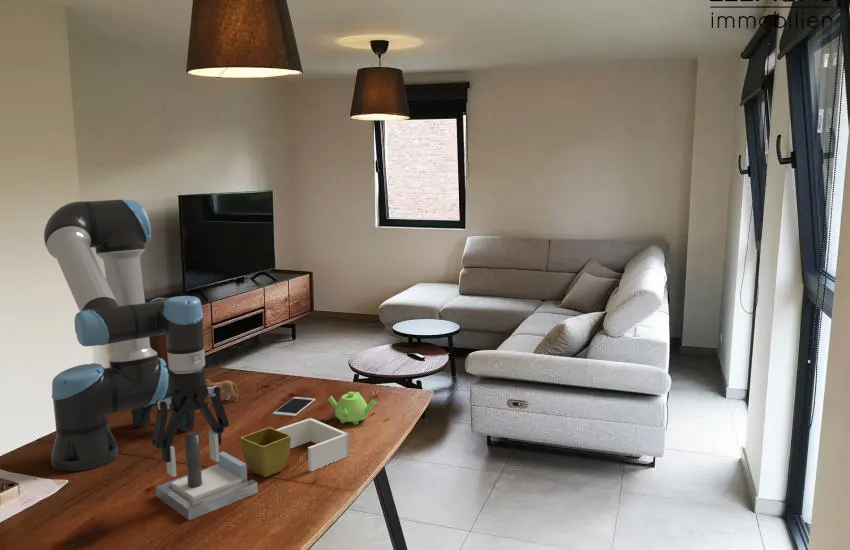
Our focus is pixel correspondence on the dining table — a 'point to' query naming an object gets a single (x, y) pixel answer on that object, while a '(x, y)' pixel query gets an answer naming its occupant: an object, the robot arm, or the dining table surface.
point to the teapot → (351, 407)
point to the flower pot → (266, 451)
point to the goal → (319, 441)
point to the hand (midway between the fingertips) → (193, 466)
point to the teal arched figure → (143, 413)
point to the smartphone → (294, 406)
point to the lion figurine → (223, 386)
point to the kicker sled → (207, 473)
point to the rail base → (206, 503)
